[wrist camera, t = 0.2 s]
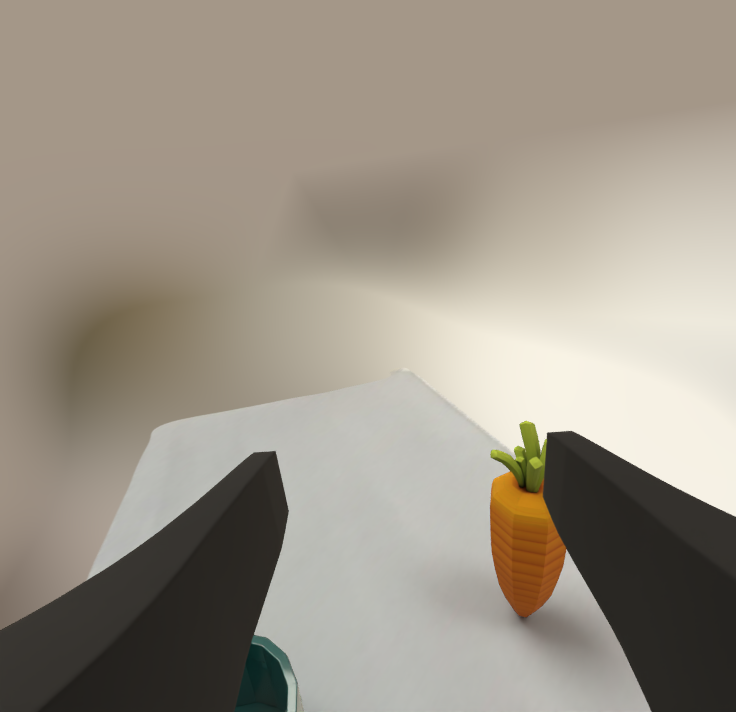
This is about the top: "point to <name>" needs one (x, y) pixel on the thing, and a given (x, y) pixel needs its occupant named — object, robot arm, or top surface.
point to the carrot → (524, 528)
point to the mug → (268, 680)
